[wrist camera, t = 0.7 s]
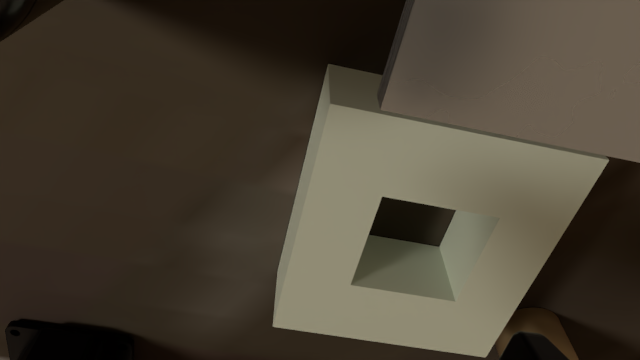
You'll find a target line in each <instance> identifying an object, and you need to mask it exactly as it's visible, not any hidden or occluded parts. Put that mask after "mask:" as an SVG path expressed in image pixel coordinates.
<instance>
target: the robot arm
mask: <svg viewBox="0 0 640 360" xmlns="http://www.w3.org/2000/svg"><path fill="white" fill-rule="evenodd" d="M5 334H6V340H7V345H8V351H9V357H10V360H133V356H134V340H133V339H132V338H131V337H129V336H126V335H119V334H112V333H105V332H97V331H90V330H83V329H76V328H68V327H61V326H54V325H46V324H39V323H32V322H25V321H11V322H10V323H9V324H8V326H7V328H6V329H5ZM499 360H569V359H568V358H567V357H566V356H565V355H564V354H563V353H562V352H561V351H560V350H559V349H558V348H557V347H556V346H555V345H554V344H553V343H552V342H551V341H550V340H549V339H548V338H546V337H545V336H544V335H542V334H539V333H533V332H525V331H518V332H516V333H514V334H513V336H512V337H511V339H510V341H509V342H508V344H507V346H506V347H505V349H504V351H503V353H502V354H501V356H500V358H499Z"/></svg>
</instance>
